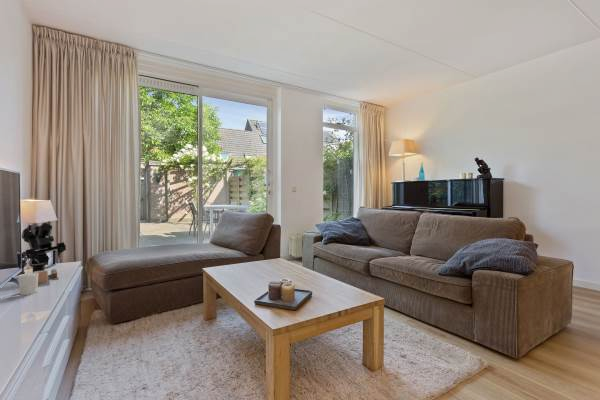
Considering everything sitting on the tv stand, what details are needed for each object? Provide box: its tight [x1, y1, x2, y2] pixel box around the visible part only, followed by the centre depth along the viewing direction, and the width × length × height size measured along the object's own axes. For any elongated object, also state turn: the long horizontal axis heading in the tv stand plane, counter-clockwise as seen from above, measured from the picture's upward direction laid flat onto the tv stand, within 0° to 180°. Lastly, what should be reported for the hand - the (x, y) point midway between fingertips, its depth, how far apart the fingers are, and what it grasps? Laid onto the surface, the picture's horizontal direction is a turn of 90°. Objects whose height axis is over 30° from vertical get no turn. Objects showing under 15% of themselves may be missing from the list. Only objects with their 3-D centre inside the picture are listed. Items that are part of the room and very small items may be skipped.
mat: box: [37, 279, 51, 288], centre depth 171 cm, size 16×10×1 cm, turn 42°
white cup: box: [17, 272, 39, 296], centre depth 156 cm, size 8×8×10 cm
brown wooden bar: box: [50, 268, 59, 281], centre depth 186 cm, size 18×4×4 cm, turn 42°
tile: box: [34, 269, 49, 284], centre depth 173 cm, size 2×6×7 cm, turn 132°
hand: (49, 260), depth 179 cm, fingers open, 9 cm apart
